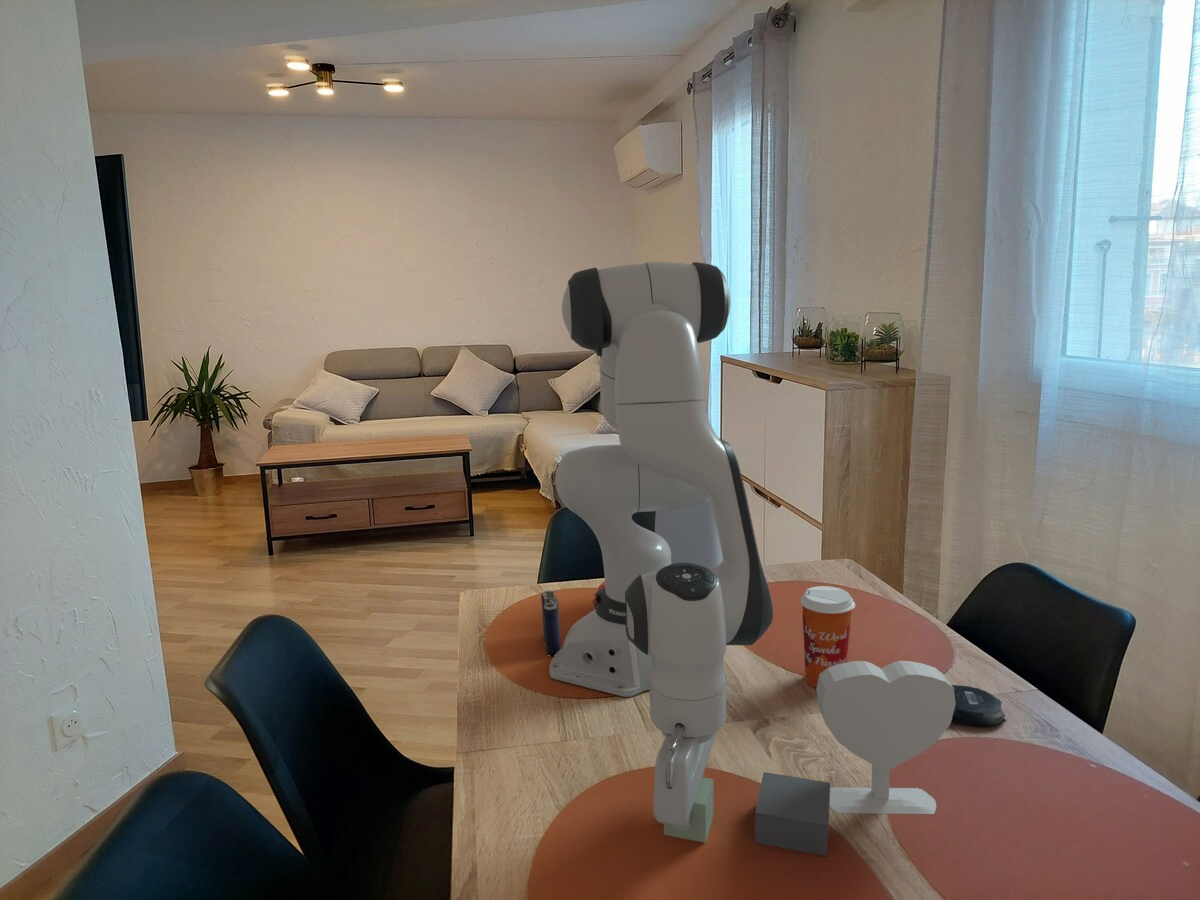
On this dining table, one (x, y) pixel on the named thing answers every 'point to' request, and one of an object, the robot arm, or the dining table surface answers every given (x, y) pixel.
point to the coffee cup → (825, 629)
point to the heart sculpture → (884, 727)
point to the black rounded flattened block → (976, 707)
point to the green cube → (697, 815)
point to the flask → (551, 622)
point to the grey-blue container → (690, 535)
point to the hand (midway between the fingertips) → (688, 809)
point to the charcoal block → (793, 813)
